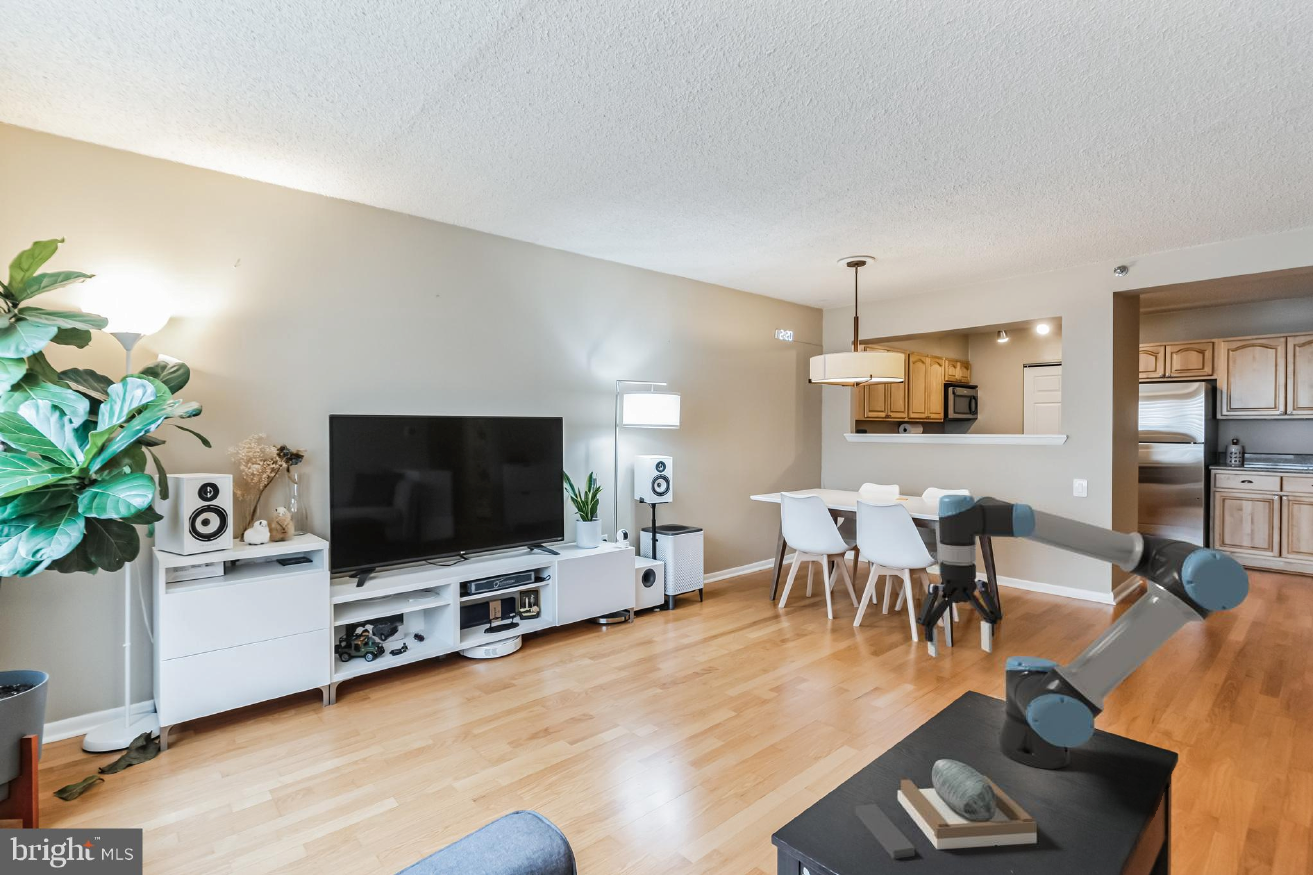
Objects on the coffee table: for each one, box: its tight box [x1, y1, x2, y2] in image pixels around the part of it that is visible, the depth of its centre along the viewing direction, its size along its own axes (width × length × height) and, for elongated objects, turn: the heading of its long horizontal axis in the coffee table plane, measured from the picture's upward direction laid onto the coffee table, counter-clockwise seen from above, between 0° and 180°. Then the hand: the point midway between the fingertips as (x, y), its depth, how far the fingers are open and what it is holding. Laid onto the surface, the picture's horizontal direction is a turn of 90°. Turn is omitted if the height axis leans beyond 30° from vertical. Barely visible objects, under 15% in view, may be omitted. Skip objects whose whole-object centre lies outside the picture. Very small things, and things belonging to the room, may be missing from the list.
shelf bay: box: [897, 775, 1038, 850], centre depth 127 cm, size 20×16×4 cm
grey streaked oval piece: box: [931, 758, 996, 822], centre depth 128 cm, size 14×10×10 cm
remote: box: [854, 803, 916, 860], centre depth 123 cm, size 4×14×2 cm, turn 11°
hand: (960, 653), depth 145 cm, fingers open, 13 cm apart
